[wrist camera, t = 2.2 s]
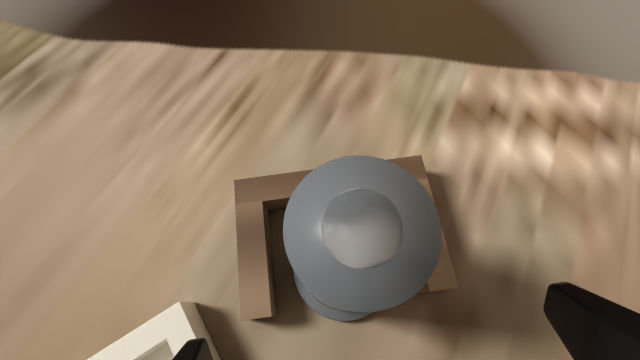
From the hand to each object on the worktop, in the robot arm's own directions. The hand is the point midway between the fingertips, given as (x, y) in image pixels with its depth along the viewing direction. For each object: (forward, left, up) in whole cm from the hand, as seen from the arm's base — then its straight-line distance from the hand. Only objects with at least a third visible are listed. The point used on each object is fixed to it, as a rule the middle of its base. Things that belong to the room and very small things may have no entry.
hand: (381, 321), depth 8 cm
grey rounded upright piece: (+2, -1, -10) cm, 10 cm away
